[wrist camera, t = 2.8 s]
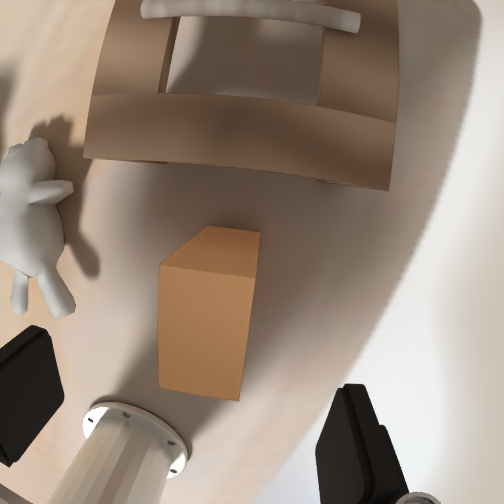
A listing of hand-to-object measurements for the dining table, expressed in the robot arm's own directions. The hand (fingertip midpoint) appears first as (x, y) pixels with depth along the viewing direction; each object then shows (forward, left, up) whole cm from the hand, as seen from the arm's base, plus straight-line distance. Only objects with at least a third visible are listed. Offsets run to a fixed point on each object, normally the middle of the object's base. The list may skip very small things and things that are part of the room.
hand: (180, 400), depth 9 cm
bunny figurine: (+1, +18, -16) cm, 24 cm away
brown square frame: (+15, 0, -16) cm, 22 cm away
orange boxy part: (-1, 0, -16) cm, 16 cm away
